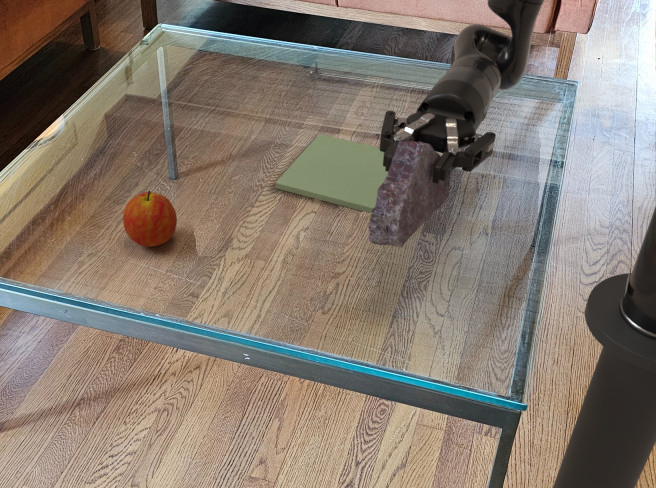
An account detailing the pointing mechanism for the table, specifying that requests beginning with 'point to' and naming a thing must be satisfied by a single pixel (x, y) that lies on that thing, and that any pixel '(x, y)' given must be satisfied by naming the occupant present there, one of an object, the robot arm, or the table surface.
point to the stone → (407, 194)
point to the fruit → (149, 219)
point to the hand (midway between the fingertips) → (412, 170)
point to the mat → (337, 173)
